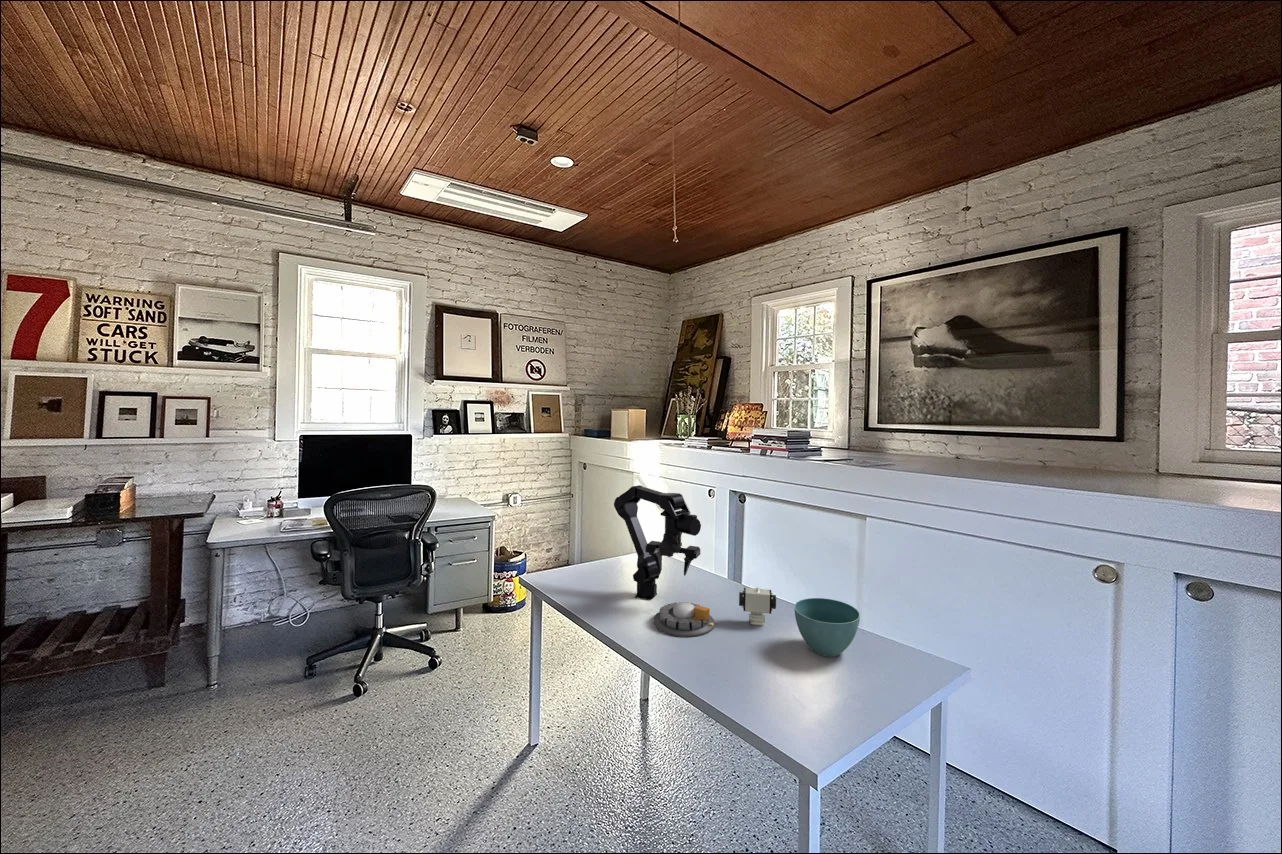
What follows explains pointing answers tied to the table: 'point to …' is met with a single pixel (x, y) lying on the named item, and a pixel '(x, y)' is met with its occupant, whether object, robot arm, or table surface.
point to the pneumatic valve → (757, 604)
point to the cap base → (682, 632)
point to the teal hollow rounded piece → (826, 624)
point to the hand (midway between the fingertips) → (672, 573)
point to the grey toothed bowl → (684, 624)
